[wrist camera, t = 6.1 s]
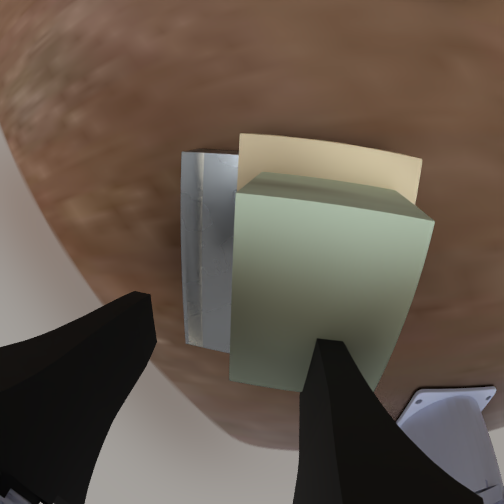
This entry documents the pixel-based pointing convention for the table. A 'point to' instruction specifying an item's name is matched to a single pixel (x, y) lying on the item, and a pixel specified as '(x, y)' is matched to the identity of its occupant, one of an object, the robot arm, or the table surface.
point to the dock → (208, 244)
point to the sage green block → (321, 255)
